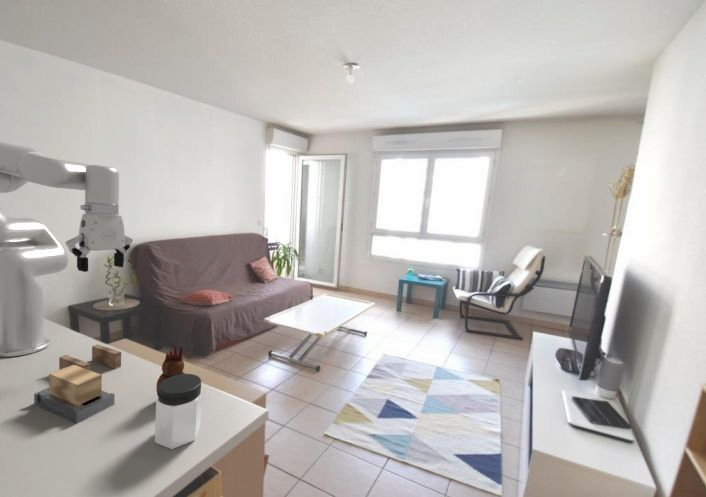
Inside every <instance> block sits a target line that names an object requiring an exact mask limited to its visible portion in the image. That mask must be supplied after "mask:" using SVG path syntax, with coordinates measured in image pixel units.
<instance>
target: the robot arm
mask: <svg viewBox="0 0 706 497" xmlns="http://www.w3.org/2000/svg"><path fill="white" fill-rule="evenodd" d="M27 183H33V184H36V185H41V186H46V187H49V188H55V189H66V190H68V189H69V190H77V191H84V195H85V196H84V204H81V205H80V208H79V209H80V210H82V211H84V213H82V215H81V219H80V224H79V230H78V235H77V236H75V237H73V238H70V239H69V240H66V241H65V246H67V249H68V250H69V252H70V253H72V255H73V256H74V257H76V268H77V270H78V271H79V272H84V273H87V272H88V271H89V257H88V256H87V255H88V254H90V252H91V251H93V252H94V251H96V252H97V251H109V250H110V251H112V250H114V251H115V252H114V253H113V254H114V255H113V266H114V267H118V268H124V264H125V263H124V262H125V255H126V254H127V251H128V250H129V249H130V247H131V245H132V243H133V238H131V237H129V236H127V235H126V234H125V225H124V220H123V218H122V217H123V216H122V215H120V214H119V213H120V212H119V208H120V206H119V204H120V203H119V201H120V197H119V196H120V194H119V193H120V192H119V191H120V184H119V183H120V172H119V170H118V169H117V168H115V167H112V166H106V165H97V164H85V163H82V162H81V163H80V162H74V161H69V160H64V159H57V158H51V157H47V156H46V155H45V154H44V153H42V152H41V151H38V150H35V149H34V148H31V147H28V146H24V145H23V146H22V145H18V144H17V145H16V144H12V143H7V142H2V141H0V194H1V193H2V194H6V193H7V194H8V193H12V192H15V191H17V190H18V189H20V188H22V187H23V186H25V185H26V184H27ZM77 244H78V246H79V248H78V247H77ZM68 265H69V256H68V254H67V252H66V250H65V249H64V247H63V246H62V244H61V243H60V242H59V241H58V240H57V238H56V237H55V236H54V234H53V233H52V232H51V230H50V229H49V228H48V227H47V226H46V225H45V224H44V223H43V222H41V221H40V220H37V219H35V218H28V217H27V218H26V217H24V218H23V217H22V218H21V217H18V218H17V217H10V216H8V215H7V214H6V213H5V212H4V211H3V210H2V208H0V357H5V358H8V357H9V358H10V357H19V356H24V355H28V354H29V355H30V354H34V353H36V352H39V351H43V350H44V349H46V348H48V347H49V346H50V345H51V339H50V338H49V337H47V336H45V335H44V334H45V333H44V327H45V326H44V325H45V324H44V290H43V288H42V286H41V284H39V283H38V282H37V280H36V279H35V278H36V277H40V276H46V275H51V274H57V273H59V272H62V271H63V270H65V269H66V268H67V267H68Z"/></svg>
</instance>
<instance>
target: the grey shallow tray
mask: <svg viewBox="0 0 706 497" xmlns="http://www.w3.org/2000/svg"><path fill="white" fill-rule="evenodd" d="M33 404H34V406H35V405H36V406H38V407H40V408H42V409H44V410H47V411H48V412H51V413H53V414H55V415H57V416H59V417H61V418H63V419H66V420H69V421H70V422H72V423H75V424H78V423H81V422H82V421H84V420H86V419H88V418H90V417H92V416H94V415H96V414H98V413H99V412H102V411H104V410H105V409H108V408H109V407H111V406H113V405H115V393H113V392H111V393H109V392H107V391H104V390H101V395H99V396H97V397H95V398H93V399H91V400H89V401H87V402H85V403H83V404H80V405H78V406H77V405H75V404H72V403H70V402H68V401H65V400H63V399H61V398H58V397H56V396H54V395H51V394H49V387H48V388H44V389H43V390H40V391H37V392H35V393H34V394H33Z"/></svg>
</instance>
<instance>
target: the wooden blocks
mask: <svg viewBox="0 0 706 497" xmlns="http://www.w3.org/2000/svg"><path fill="white" fill-rule="evenodd" d="M58 360H59V361H58V362H59V364H58V367H59V368H58V370H60V369H63V368H66V367H69V366H71V365H76V366H79V367H82V368H84V369H87V370H90V371H91V363H90V362H87V361H84V360H82V359H79V358H76V357H74V356H70V355H68V354H65V355H62V356H59V359H58ZM91 361H92V362H95V363H98V364H101V365H104V366H106V367H108V368H111V369H118V368H121V367H122V351H120V350H119V351H118V350H116V349H113V348H111V347H107V346H104V345H101V344H97V343H96V344H95V345H91Z"/></svg>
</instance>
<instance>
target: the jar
mask: <svg viewBox="0 0 706 497" xmlns="http://www.w3.org/2000/svg"><path fill="white" fill-rule="evenodd" d="M202 397H203V387H202V379H201V377H200V376H198V375H197V374H193V373H185V374H179V375H175V376H171V377H169V378H167V379H165V380H164V381H162V382H161V383H160V385H159V388H158V395H157V400H155V427H154V428H155V430H154V443H155V444H158V445H160V446H162V447H165V448H167V449H169V450H170V449H171V450H173V449H176V448H179V447H181V446H185V445H186V444H189V443H192V442H195V440H196V439H197V437H198V436H197V435H198V434H199V431H200V428H201V423H202V422H201V420H202V401H203V400H202Z"/></svg>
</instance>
